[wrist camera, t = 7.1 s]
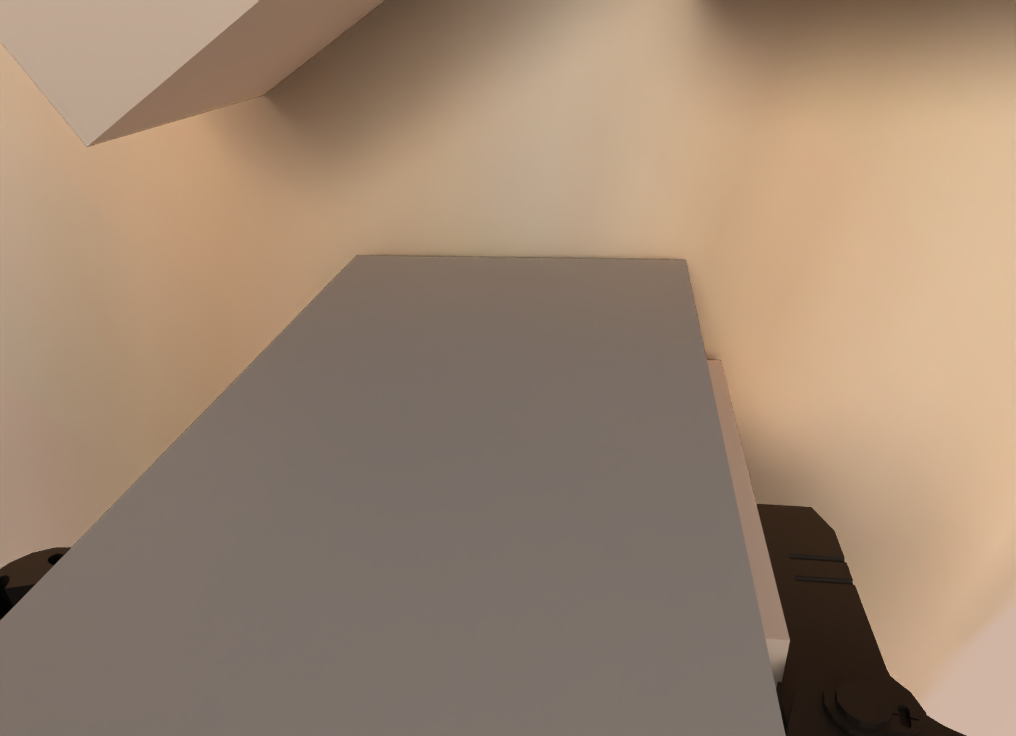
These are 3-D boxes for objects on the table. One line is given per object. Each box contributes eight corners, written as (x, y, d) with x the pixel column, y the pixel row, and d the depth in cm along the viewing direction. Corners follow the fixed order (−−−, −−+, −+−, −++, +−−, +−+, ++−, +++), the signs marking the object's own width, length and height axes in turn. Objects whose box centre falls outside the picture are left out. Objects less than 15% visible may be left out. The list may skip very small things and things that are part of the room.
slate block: (391, 511, 16) (125, 1113, 8) (356, 255, 14) (-120, 742, 5) (663, 528, 16) (711, 1227, 7) (686, 260, 13) (811, 857, 4)
